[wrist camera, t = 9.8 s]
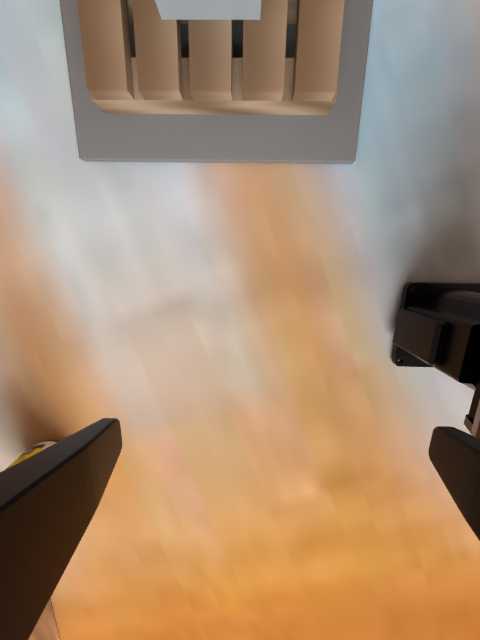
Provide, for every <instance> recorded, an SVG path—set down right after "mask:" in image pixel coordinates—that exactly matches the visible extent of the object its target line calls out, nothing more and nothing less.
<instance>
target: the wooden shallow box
mask: <svg viewBox="0 0 480 640" xmlns="http://www.w3.org/2000/svg"><path fill="white" fill-rule="evenodd" d="M29 640H60V638H59V633H58V629H57V625H56V621H55V617H54V613H53V609H52V605H51V600H50V599H49V601H48V603H47V605H46V607H45V609H44V611H43V613H42V615H41V617H40V619H39V620H38V622H37V624H36V626H35V628H34V630H33V632H32V634H31V636H30V638H29Z"/></svg>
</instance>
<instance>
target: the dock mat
mask: <svg viewBox="0 0 480 640" xmlns="http://www.w3.org/2000/svg"><path fill="white" fill-rule="evenodd" d="M372 7H373V0H345V2H344V12H343V23H342V34H341V45H340V56H339V58H340V65H339V76H338V87H337V98H336V102H335V104H334V106H333V107H332V109H331V111H330V112H329V114H328V115H219V114H105V113H104V112H103V111H102V110H101V109H100V108H99V107H98V106H97V105H96V104H95V103H94V102H93V101H92V100H91V94H90V93H89V92H88V91H87V86H86V77H85V68H84V59H83V50H82V41H81V32H80V24H79V15H78V6H77V0H60V8H61V16H62V24H63V32H64V40H65V48H66V56H67V64H68V72H69V80H70V87H71V95H72V103H73V111H74V119H75V127H76V135H77V143H78V151H79V158H80V159H82V160H84V161H108V162H216V163H323V164H352V163H353V162H354V161H355V158H356V149H357V140H358V131H359V122H360V113H361V104H362V96H363V87H364V78H365V69H366V60H367V51H368V42H369V33H370V25H371V16H372ZM180 27H181V56H182V58H189V31H188V24H180ZM129 34H130V48H131V57H136V49H135V35H134V24H129ZM295 35H296V24H287V29H286V50H285V58H294V53H295ZM232 58H243V24H232Z"/></svg>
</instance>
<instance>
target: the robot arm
mask: <svg viewBox="0 0 480 640" xmlns="http://www.w3.org/2000/svg"><path fill="white" fill-rule="evenodd" d="M411 287H414V290H413V291H412V292H411V291H410V289H411ZM393 342H394V347H393V353H392V362H393V363H394V364H396V365H397V366H409V367H435V368H436V369H438V370H440V371H441V372H443V373H445V374H446V375H448V376H450V377H451V378H453V379H455V380H456V381H458V382H460V383H463V384H465V385H466V386H468V387H470V388H471V389H473V390H475V393H474V396H473V400H472V404H471V407H470V411H469V414H468V415H466V417H465V420H464V424H465V426H466V427H467V429H468V430H469V431H470V433H471V434H472V435H470V434H467V433H465V432H463V431H461V430H458V429H456V428H454V427H443V426H438V427H435V429H434V430H433V433H432V438H431V442H430V446H429V457H430V460H431V462H432V464H433V465H434V467H435V469H436V470H437V472H438V474H439V476H440V477H441V479H442V481H443V482H444V484H445V486H446V488H447V489H448V491H449V493H450V495H451V496H452V498H453V500H454V501H455V503H456V505H457V507H458V508H459V510H460V512H461V513H462V515H463V516H464V518H465V520H466V521H467V523H468V524H469V526H470V527H471V529H472V530H473V532H474V533H475V535H476V536H477V538H478V539H479V541H480V283H440V282H409V283H407V284H406V285H405V286H404V289H403V295H402V301H401V307H400V310H399V311H398V316H397V322H396V327H395V333H394V339H393ZM400 357H401V360H400V361H398V359H399V358H400ZM121 449H122V436H121V428H120V422H119V420H118V419H117V418H103V419H101V420H99V421H97V422H95V423H93V424H91V425H89V426H87V427H86V428H84V429H82V430H80V431H78V432H76V433H74V434H72V435H70V436H68V437H67V438H65V439H63V440H61V441H59V442H57V443H55V444H53V445H51V446H50V447H48V448H46V449H44V450H42V451H40V452H38V453H36V454H34V455H32V456H31V457H29V458H27V459H25V460H23V461H21V462H19V463H17V464H15V465H13V466H12V467H10V468H8V469H6V470H4V471H2V472H0V640H29V638H30V636H31V634H32V632H33V630H34V628H35V626H36V624H37V622H38V620H39V619H40V617H41V615H42V613H43V611H44V609H45V607H46V605H47V603H48V601H49V599H50V598H51V596H52V594H53V592H54V590H55V588H56V586H57V584H58V582H59V580H60V578H61V577H62V575H63V573H64V571H65V569H66V567H67V565H68V563H69V561H70V559H71V557H72V556H73V554H74V552H75V550H76V548H77V546H78V544H79V542H80V540H81V538H82V536H83V535H84V533H85V531H86V529H87V527H88V525H89V523H90V521H91V519H92V517H93V515H94V513H95V511H96V509H97V507H98V505H99V503H100V500H101V498H102V496H103V493H104V491H105V488H106V486H107V484H108V481H109V479H110V476H111V474H112V472H113V469H114V467H115V464H116V462H117V459H118V457H119V455H120V452H121Z"/></svg>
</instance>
